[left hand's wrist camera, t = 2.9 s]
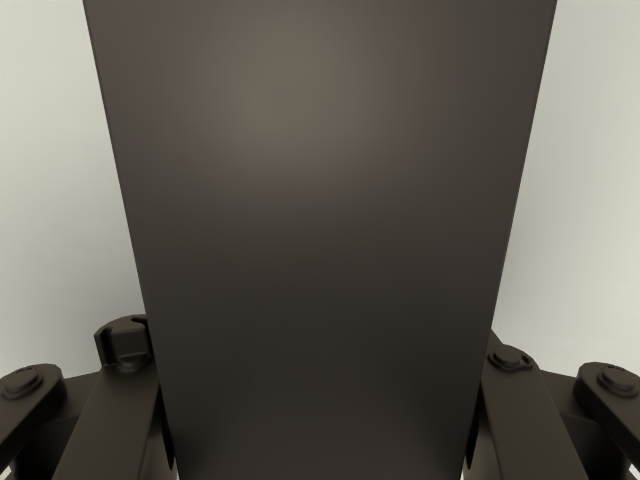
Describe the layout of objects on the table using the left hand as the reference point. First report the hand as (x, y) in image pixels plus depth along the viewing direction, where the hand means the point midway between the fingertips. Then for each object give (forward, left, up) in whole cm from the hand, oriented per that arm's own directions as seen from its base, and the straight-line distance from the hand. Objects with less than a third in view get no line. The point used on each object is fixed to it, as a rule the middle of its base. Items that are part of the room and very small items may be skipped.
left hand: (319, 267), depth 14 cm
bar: (+4, +7, -1) cm, 8 cm away
